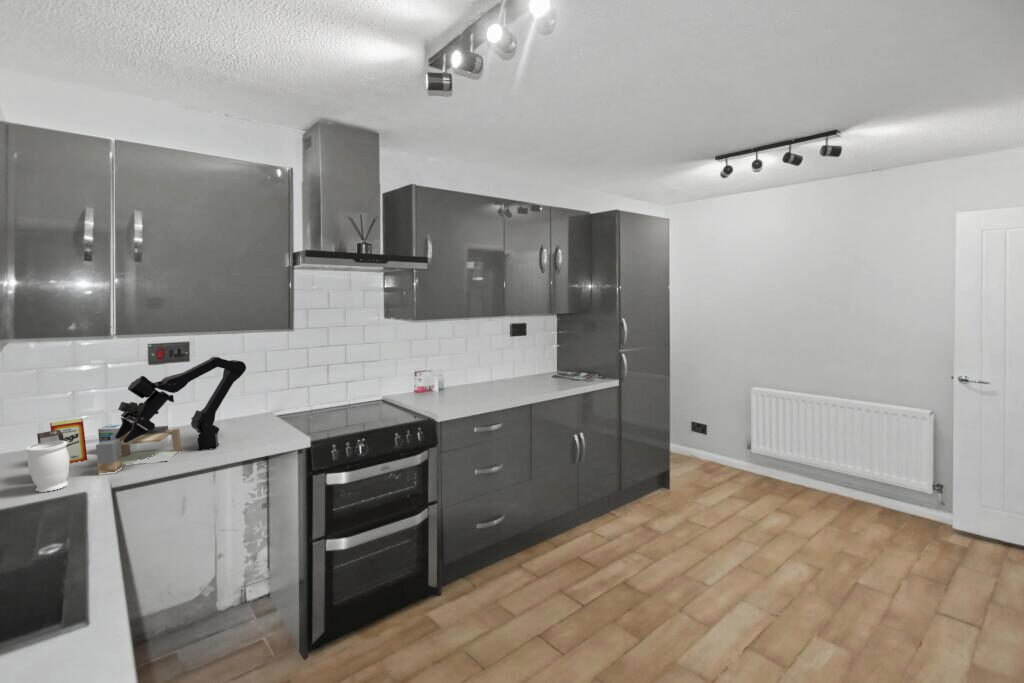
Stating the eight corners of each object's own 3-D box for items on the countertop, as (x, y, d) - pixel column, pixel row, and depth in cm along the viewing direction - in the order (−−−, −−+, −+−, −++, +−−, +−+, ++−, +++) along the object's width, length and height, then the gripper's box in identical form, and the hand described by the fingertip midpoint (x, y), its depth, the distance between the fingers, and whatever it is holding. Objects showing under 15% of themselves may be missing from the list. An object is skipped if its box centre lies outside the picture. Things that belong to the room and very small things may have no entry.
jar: (73, 487, 175) (68, 444, 174) (32, 497, 168) (26, 452, 167) (70, 479, 183) (65, 438, 181) (31, 488, 176) (25, 445, 174)
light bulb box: (99, 454, 211) (96, 428, 209) (111, 449, 217) (109, 424, 216) (126, 453, 211) (124, 427, 210) (138, 448, 218) (135, 423, 216)
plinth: (122, 468, 193) (121, 457, 193) (115, 473, 188) (114, 462, 188) (105, 470, 192) (104, 459, 192) (98, 475, 187) (97, 464, 186)
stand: (182, 449, 214) (180, 427, 213) (169, 461, 200) (166, 437, 199) (126, 455, 209) (123, 432, 208) (108, 467, 195) (105, 443, 194)
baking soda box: (86, 456, 209) (81, 417, 207) (87, 460, 204) (82, 420, 202) (54, 462, 202) (49, 422, 200) (55, 466, 197) (50, 425, 196)
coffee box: (69, 477, 185) (63, 433, 183) (45, 483, 180) (39, 438, 179) (64, 471, 191) (59, 429, 189) (41, 476, 187) (35, 433, 185)
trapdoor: (174, 431, 214) (173, 425, 214) (160, 442, 200) (159, 434, 200) (134, 435, 211) (134, 428, 210) (118, 445, 197) (117, 438, 197)
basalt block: (120, 458, 193) (118, 439, 192) (114, 462, 188) (112, 443, 187) (104, 459, 192) (102, 441, 191) (98, 464, 187) (95, 445, 186)
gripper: (125, 390, 200) (92, 424, 193) (141, 396, 189) (107, 432, 181) (150, 406, 207) (119, 440, 200) (168, 413, 196) (136, 448, 188)
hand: (120, 440), depth 192 cm, fingers open, 9 cm apart
